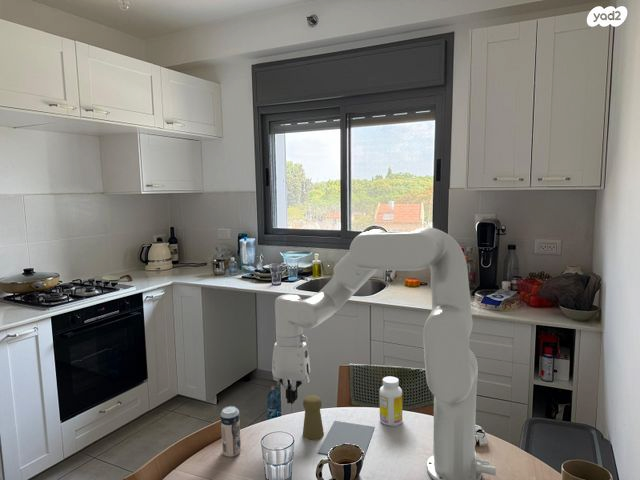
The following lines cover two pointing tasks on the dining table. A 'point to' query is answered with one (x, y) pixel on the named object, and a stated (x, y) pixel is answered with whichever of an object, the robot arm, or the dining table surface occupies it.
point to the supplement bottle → (390, 402)
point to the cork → (312, 418)
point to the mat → (347, 436)
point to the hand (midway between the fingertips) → (291, 401)
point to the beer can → (230, 431)
